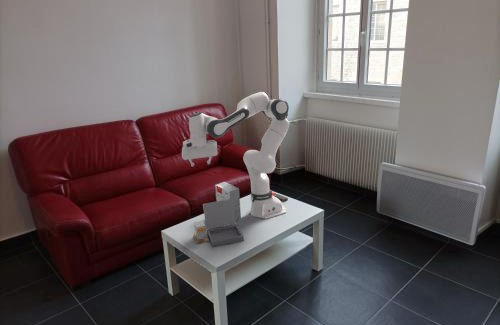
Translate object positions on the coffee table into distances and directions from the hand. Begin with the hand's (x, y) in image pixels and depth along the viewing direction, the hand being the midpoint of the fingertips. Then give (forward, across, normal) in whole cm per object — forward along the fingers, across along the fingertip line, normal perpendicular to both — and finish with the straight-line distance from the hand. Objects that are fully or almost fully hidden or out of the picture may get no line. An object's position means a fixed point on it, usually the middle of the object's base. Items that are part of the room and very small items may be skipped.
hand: (200, 164), depth 209 cm
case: (+35, -6, +26) cm, 44 cm away
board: (+35, +7, +22) cm, 42 cm away
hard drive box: (+35, -14, +1) cm, 38 cm away
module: (+34, +7, +22) cm, 41 cm away
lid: (+25, -6, +16) cm, 30 cm away
